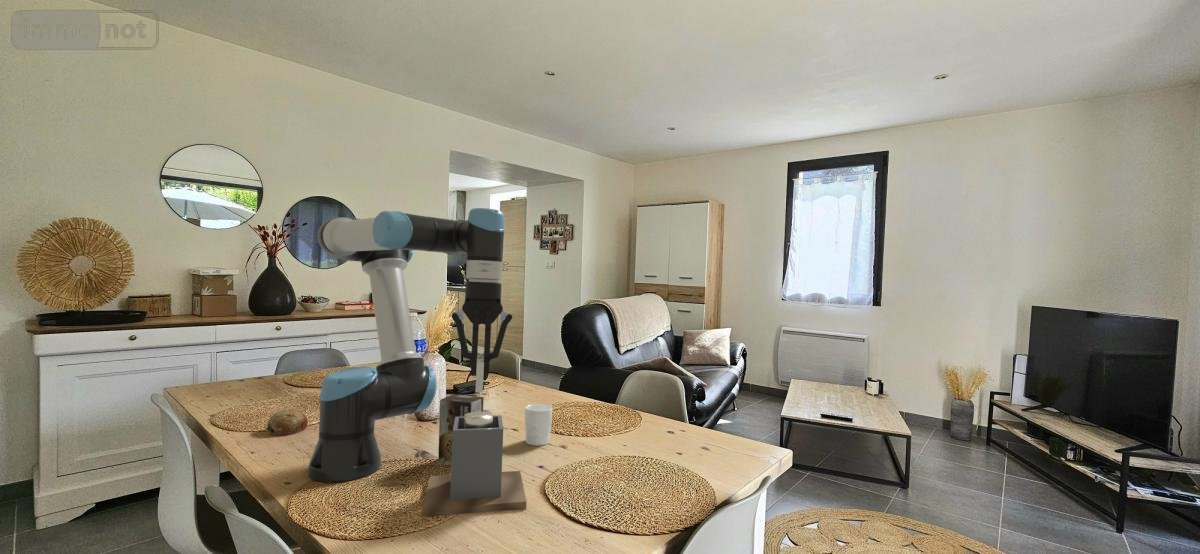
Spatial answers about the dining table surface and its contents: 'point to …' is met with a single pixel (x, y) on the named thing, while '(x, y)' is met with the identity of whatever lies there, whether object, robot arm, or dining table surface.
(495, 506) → the base
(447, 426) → the coffee box
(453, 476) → the box
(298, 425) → the brown rounded lump
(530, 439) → the white cup
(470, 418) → the plunger
